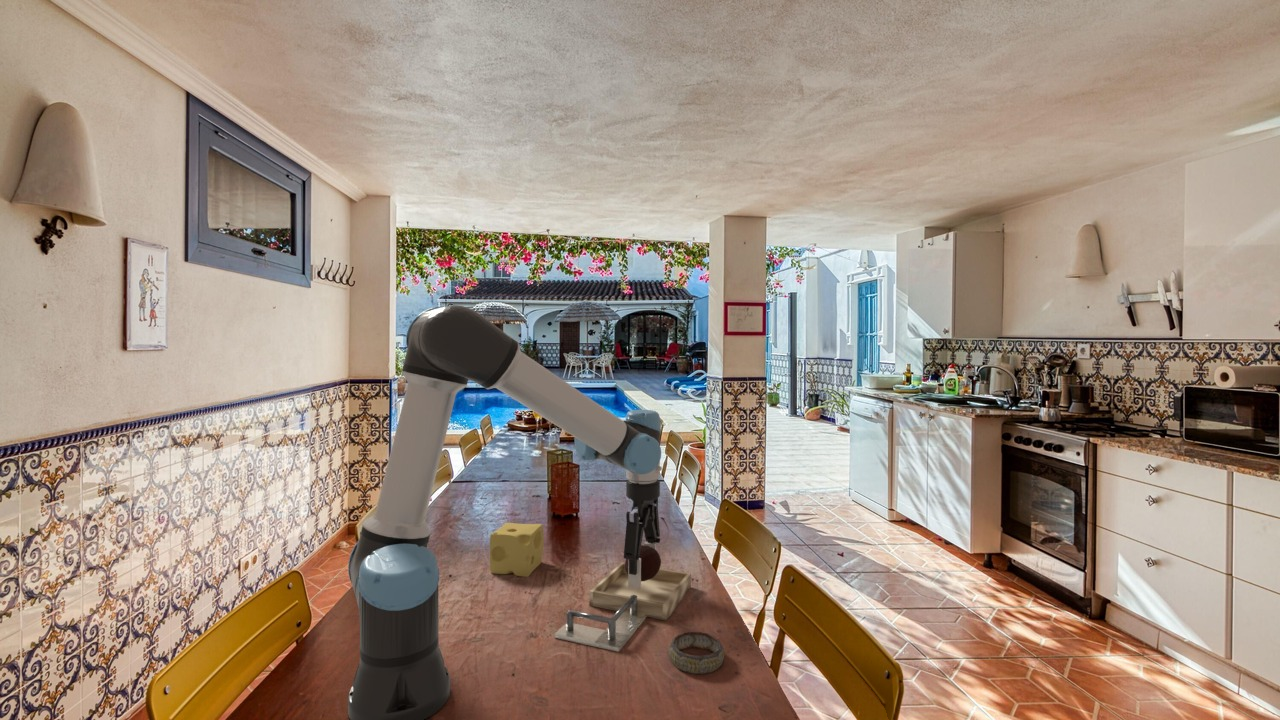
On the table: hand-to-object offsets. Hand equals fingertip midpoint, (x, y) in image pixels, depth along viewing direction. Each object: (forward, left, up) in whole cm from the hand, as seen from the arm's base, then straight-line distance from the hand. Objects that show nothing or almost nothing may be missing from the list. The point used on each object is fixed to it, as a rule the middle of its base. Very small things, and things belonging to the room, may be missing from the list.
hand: (642, 578), depth 133 cm
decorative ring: (-21, -18, -4) cm, 28 cm away
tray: (0, 0, -4) cm, 4 cm away
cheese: (+3, +35, -4) cm, 35 cm away
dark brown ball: (0, 0, 0) cm, 0 cm away
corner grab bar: (-16, +2, -4) cm, 16 cm away
